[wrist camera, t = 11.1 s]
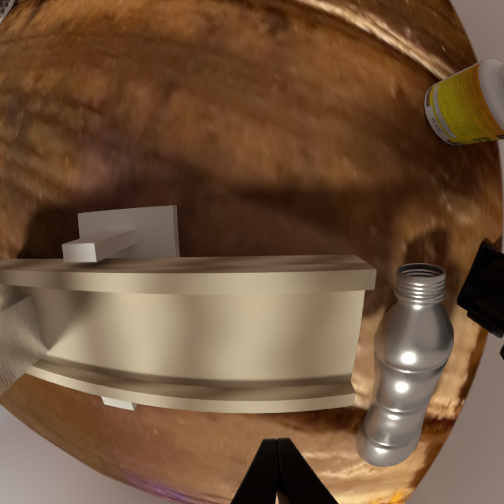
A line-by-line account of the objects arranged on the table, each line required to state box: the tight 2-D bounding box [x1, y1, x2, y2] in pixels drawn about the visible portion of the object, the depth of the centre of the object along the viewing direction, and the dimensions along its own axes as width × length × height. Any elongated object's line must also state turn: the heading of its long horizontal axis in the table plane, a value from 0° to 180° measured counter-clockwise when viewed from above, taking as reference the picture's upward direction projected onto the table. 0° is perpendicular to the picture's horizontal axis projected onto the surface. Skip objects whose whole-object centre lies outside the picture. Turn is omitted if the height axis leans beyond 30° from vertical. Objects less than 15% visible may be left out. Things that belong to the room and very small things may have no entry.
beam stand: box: [62, 205, 180, 410], centre depth 17 cm, size 8×14×7 cm, turn 1°
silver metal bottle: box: [356, 263, 454, 467], centre depth 18 cm, size 6×7×20 cm
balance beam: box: [0, 254, 377, 413], centre depth 16 cm, size 30×8×6 cm, turn 91°
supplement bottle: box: [424, 58, 504, 146], centre depth 12 cm, size 6×6×10 cm
